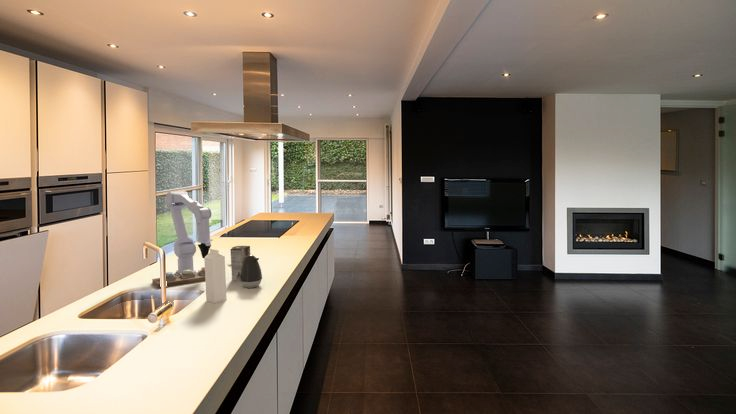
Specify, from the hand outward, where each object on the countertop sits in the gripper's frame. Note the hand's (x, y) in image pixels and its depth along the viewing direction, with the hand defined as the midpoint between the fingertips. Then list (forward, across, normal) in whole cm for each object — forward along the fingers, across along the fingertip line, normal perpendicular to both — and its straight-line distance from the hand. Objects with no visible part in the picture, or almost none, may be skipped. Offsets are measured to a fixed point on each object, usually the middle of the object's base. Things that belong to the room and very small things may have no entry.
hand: (205, 257), depth 226 cm
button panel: (+10, 0, +9) cm, 14 cm away
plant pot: (+10, +26, -28) cm, 40 cm away
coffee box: (+10, -13, -14) cm, 22 cm away
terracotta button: (+7, 0, 0) cm, 7 cm away
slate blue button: (+7, 0, +18) cm, 19 cm away
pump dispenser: (+10, -31, -12) cm, 35 cm away
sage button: (+7, 0, +9) cm, 11 cm away
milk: (+10, -42, +8) cm, 44 cm away
